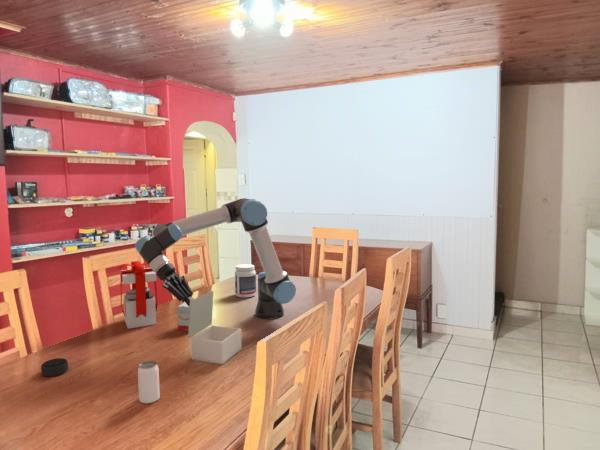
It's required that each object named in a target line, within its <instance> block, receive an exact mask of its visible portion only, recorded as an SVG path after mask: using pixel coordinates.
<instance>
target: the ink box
mask: <svg viewBox="0 0 600 450" xmlns="http://www.w3.org/2000/svg"><path fill="white" fill-rule="evenodd" d="M189 308H190V307H189V306H188V305H187V304H186V302H185V301H184V302H182V303H181V304H179V305H178V306H177V330H178V331H181V332H183V331H184V332H188V330H189Z"/></svg>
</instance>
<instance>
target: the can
mask: <svg viewBox="0 0 600 450" xmlns="http://www.w3.org/2000/svg"><path fill="white" fill-rule="evenodd" d="M159 371H160V369H159V365H158V362H157V361H154V360H146V361H143V362H141V363H140V364H138V369H137V380H138V381H137V383H138V386H137V387H138V401H139V402H140V403H142V404H145V405H146V404H147V405H148V404H153V403H156V402H157V401H158V400H159V399H160V396H161V395H160V392H161V391H160V375H159V374H160V372H159Z"/></svg>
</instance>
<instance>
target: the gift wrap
mask: <svg viewBox="0 0 600 450" xmlns="http://www.w3.org/2000/svg"><path fill="white" fill-rule="evenodd" d="M145 265H148V264H147V262H146V261H144V262H143V263H141V261H140V260H137V261H131V263H124V264H123V263H122V264H121V265H119V267H118V269H119V274H120V276H119V277H120V307H121V311H122V314H123V315H124V317H123V318H124V322H125V326H126V327H127V329H133V328H140V327H141V328H142V327H147V326H153V325H157V314H156V312H157V310H158V291H157V281H158V280H157V279H158V278H157V275H156V273H155V272H154V271H153V270H152V268H151V267H145ZM126 266H130V267H131V268H130V269H122V268H123V267H126ZM147 282H149V283H150V282H153V283H154V293H155V296H154V295H153V292H152V290H151V289H150V288H148V286H147V285H146V283H147ZM130 284H131V289H130V290H128V291H127V290H126V291H125V294H124V295H123V285H130ZM122 296H123V297H122ZM122 302H123V303H122Z"/></svg>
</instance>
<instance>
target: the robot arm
mask: <svg viewBox="0 0 600 450" xmlns="http://www.w3.org/2000/svg"><path fill="white" fill-rule="evenodd" d="M267 217H268V209H267V207H266V205H265V204H264V203H263V202H262V201H260V200H258V199H254V198H238V199H236V200H233V201H229V202H227V203H223V204H222V205H221V206H220V207H219V208H215V209H212V210H208V211H205V212H201V213H198V214H195V215H191V216H188V217H185V218H181V219H178V220H175V221H171V222H167V223H165V224H162V223H160V224H157V225H156V226H154V227H153V230H152V237H150V235H144V236H142V237H140V238H139V239H138V240H137V241H136V242H135V244H134V247H135V250H136V251H137V252H138V254H139V256H141V258H142V259H143V260H144V262H147V264H146V265H148V266H149V268H152V270H153V271H154V272H155V273H156V277H158V279H159V280H160V281H163V284H162V288H164V289H166V290H167V291H168V292H169V293H170V294H171V295H172V296H174V298H175V299H177V300H178V301H179V302H181V303H184V302H186V304H187V305H188V306H189V307H190V301H192V300H194V299H195V298H193V295H194V292H193V290H192V289H191V287H190V285H189V284H188V282H187V280H186V277H185V276H184V275H181V276H180V275H179V273H177V272H176V267H175V266H174V265H173V264H172V263H171V262H170V260H169V258H167V256H166V255H165V254H164V253H163V252H165V251H166V250H167V249H169V248H170V247H172V246H173V245H175V244H176V243H177V242H179V241H180V240H181V239H182V238H183V237H184V236H185V235H189V234H193V233H195V232H198V231H202V230H206V229H208V228H212V227H215V226H218V225H221V224H225V223H227V224H229V225H230V224H232V223H241V224H242V227H243V230H244V232H246V233H248V234H249V236H250V239H251V241H252V243H253V246H254V249H255V251H256V255H257V257H258V259H259V262H260V265H261V267H262V269H263V271H261V272H259V273H258V275H257V297H258V298H257V304H256V305H255V306H256V307H255V310H254V315H255V317H256V318H258V319H262V320H263V319H264V320H270V319H271V320H274V319H279V318H281V317H283V316H284V314H285V313H284V312H285V311H284V310H285V309H284V306H283V305H284V304H285V305H286V304H288V303H291V301H293V299H294V298H295V295H296V293H297V288H296V285H295V284H294V282H292V281H290V277H289V275H288V272H287V271H285V270H283V267H282V265H281V263H280V260H279V257H278V254H277V252H276V250H275V247H274V244H273V241H272V239H271V236H270V233H269V230H268V228H267V225H268V223H269V221H268V219H267Z"/></svg>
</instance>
